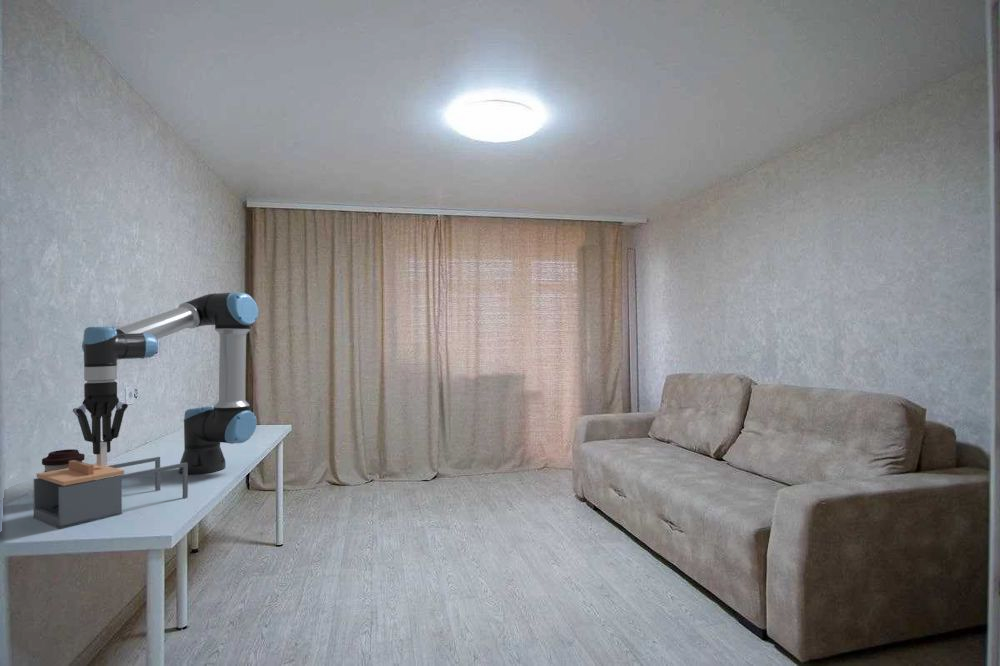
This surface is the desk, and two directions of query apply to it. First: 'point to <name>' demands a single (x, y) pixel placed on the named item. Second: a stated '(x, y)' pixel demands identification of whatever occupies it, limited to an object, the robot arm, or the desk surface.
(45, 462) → the coffee cup
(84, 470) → the lid
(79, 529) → the desk surface
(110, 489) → the housing
